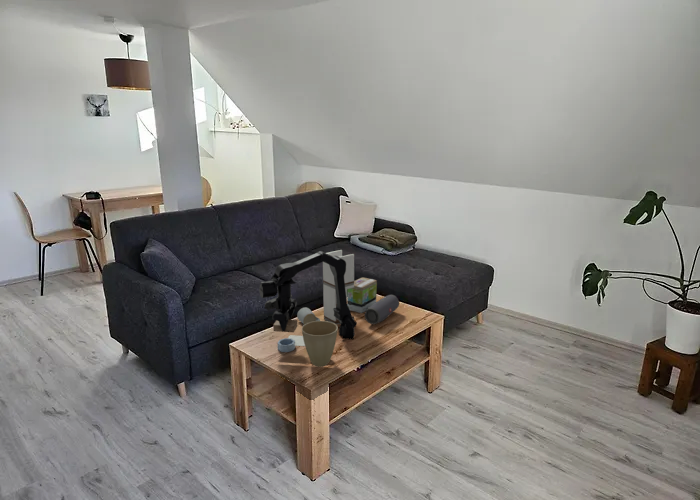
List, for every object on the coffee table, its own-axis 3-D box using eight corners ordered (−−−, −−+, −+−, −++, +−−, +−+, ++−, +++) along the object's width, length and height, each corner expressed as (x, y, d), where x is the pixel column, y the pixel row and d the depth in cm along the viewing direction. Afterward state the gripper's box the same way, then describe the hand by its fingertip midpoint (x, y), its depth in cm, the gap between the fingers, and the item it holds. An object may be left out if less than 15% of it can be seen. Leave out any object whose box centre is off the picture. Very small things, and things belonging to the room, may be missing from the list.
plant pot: (345, 361, 199) (345, 327, 194) (320, 375, 188) (319, 339, 184) (320, 350, 208) (319, 317, 204) (295, 363, 197) (294, 328, 193)
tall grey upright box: (336, 325, 233) (335, 258, 224) (323, 319, 242) (322, 253, 232) (354, 320, 240) (354, 254, 231) (341, 313, 248) (341, 249, 239)
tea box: (362, 313, 248) (362, 287, 244) (346, 309, 253) (346, 283, 250) (376, 304, 260) (377, 279, 256) (361, 301, 266) (361, 276, 262)
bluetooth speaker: (379, 328, 230) (380, 309, 228) (363, 324, 235) (363, 305, 232) (400, 313, 249) (400, 295, 246) (384, 309, 254) (384, 292, 251)
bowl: (296, 346, 212) (296, 338, 211) (292, 354, 205) (292, 346, 204) (280, 346, 213) (280, 337, 212) (276, 353, 206) (276, 345, 205)
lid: (297, 326, 209) (297, 318, 208) (293, 332, 202) (293, 324, 202) (277, 325, 210) (277, 317, 209) (273, 331, 204) (273, 323, 203)
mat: (310, 338, 220) (310, 336, 220) (305, 348, 211) (305, 346, 210) (289, 337, 221) (289, 335, 221) (284, 346, 212) (283, 344, 212)
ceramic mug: (303, 328, 230) (303, 314, 228) (297, 322, 237) (296, 308, 235) (323, 324, 236) (323, 310, 234) (315, 318, 242) (315, 304, 240)
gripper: (272, 286, 212) (274, 318, 216) (259, 301, 194) (261, 335, 198) (296, 287, 210) (297, 319, 215) (285, 302, 193) (287, 337, 197)
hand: (285, 327), depth 206 cm, fingers closed on lid, 6 cm apart
